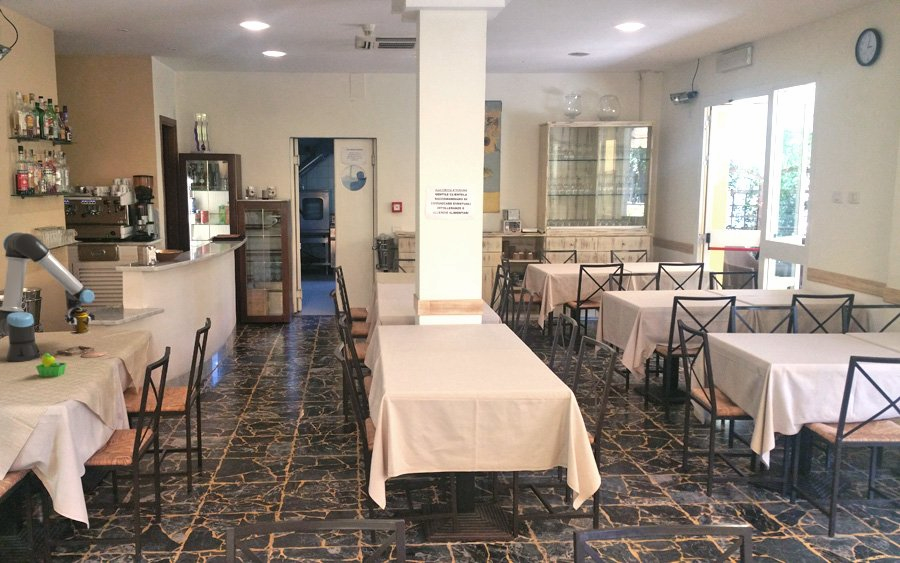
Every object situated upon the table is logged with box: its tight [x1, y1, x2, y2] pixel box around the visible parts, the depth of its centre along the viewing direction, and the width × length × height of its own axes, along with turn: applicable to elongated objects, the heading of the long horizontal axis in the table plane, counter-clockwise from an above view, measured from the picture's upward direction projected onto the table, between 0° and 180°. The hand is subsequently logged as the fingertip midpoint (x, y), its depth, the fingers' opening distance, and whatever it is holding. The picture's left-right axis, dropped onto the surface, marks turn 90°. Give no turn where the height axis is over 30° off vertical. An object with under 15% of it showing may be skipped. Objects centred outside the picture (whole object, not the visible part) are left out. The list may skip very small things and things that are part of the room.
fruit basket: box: [35, 353, 67, 378], centre depth 352 cm, size 11×9×11 cm
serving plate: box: [81, 350, 108, 358], centre depth 392 cm, size 12×12×1 cm
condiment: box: [69, 309, 92, 336], centre depth 395 cm, size 7×8×12 cm
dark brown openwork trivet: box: [56, 345, 95, 357], centre depth 399 cm, size 13×12×2 cm
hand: (82, 321), depth 391 cm, fingers closed on condiment, 6 cm apart
